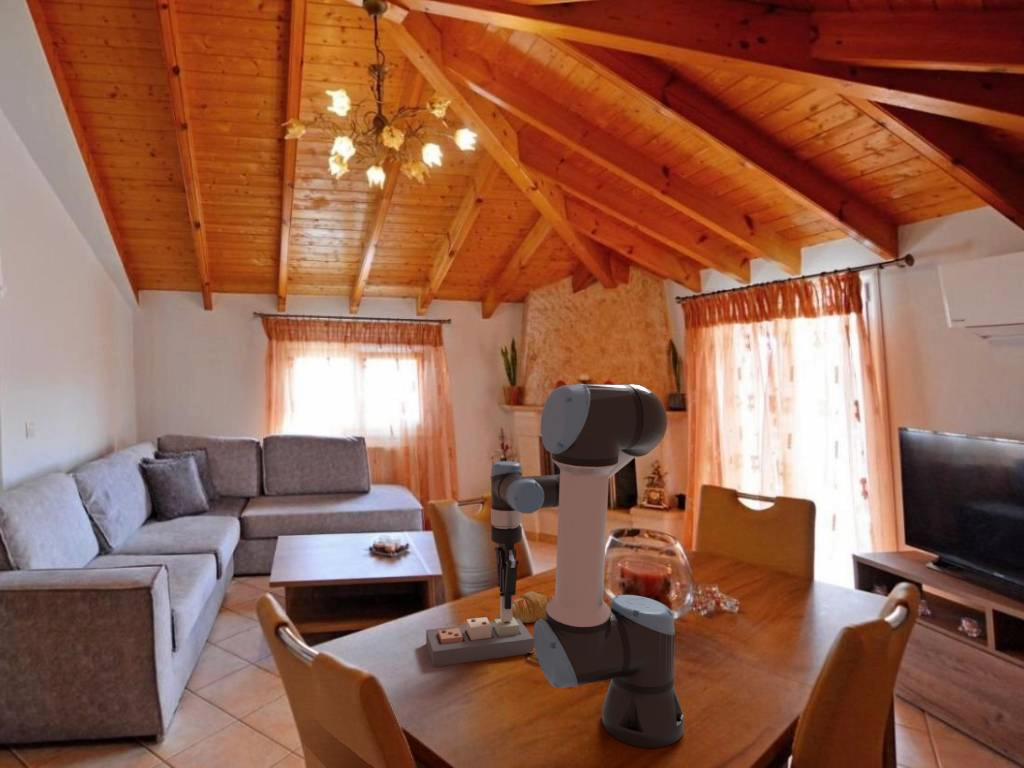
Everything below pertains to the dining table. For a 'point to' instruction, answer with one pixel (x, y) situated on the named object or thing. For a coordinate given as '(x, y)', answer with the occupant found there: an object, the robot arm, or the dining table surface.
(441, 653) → the console
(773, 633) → the dining table surface
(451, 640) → the button three
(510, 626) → the button one
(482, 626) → the button two
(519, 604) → the croissant
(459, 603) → the dining table surface
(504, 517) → the robot arm
